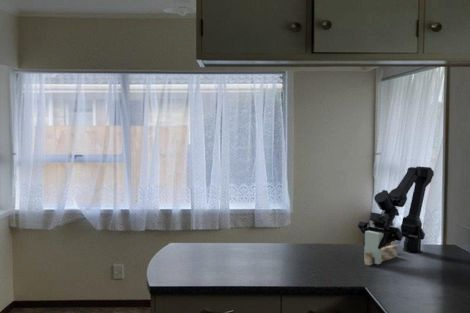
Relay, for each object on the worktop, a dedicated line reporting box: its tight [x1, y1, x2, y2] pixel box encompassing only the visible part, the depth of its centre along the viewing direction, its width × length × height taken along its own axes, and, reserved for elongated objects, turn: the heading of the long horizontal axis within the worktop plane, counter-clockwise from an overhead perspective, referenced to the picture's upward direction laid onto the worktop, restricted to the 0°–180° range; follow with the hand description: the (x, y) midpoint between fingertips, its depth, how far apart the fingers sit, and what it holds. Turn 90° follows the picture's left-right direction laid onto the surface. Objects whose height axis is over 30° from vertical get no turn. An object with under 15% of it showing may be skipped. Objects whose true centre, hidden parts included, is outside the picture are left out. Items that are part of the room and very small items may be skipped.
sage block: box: [363, 231, 382, 265], centre depth 207 cm, size 2×6×12 cm, turn 42°
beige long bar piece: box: [364, 244, 398, 266], centre depth 212 cm, size 22×2×5 cm, turn 132°
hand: (371, 246), depth 206 cm, fingers closed on sage block, 6 cm apart
